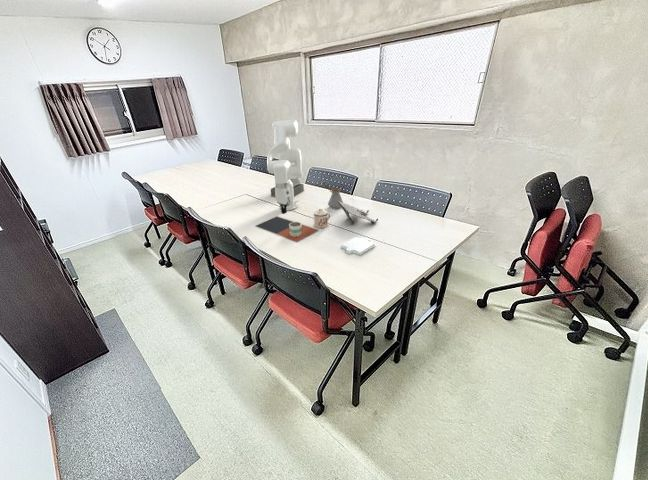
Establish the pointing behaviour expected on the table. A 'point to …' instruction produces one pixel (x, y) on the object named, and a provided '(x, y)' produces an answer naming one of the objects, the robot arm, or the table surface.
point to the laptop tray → (354, 212)
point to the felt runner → (285, 228)
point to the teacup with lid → (320, 218)
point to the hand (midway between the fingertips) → (284, 213)
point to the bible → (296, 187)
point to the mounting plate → (357, 245)
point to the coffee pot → (334, 198)
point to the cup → (295, 229)
